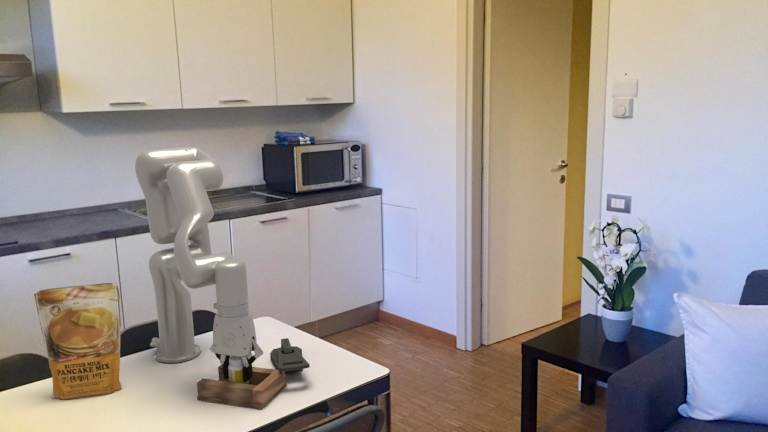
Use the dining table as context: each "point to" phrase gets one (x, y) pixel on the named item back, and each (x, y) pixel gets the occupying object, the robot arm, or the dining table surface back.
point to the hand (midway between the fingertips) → (238, 377)
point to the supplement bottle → (236, 370)
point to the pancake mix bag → (81, 338)
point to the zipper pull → (288, 358)
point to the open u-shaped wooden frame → (243, 389)
